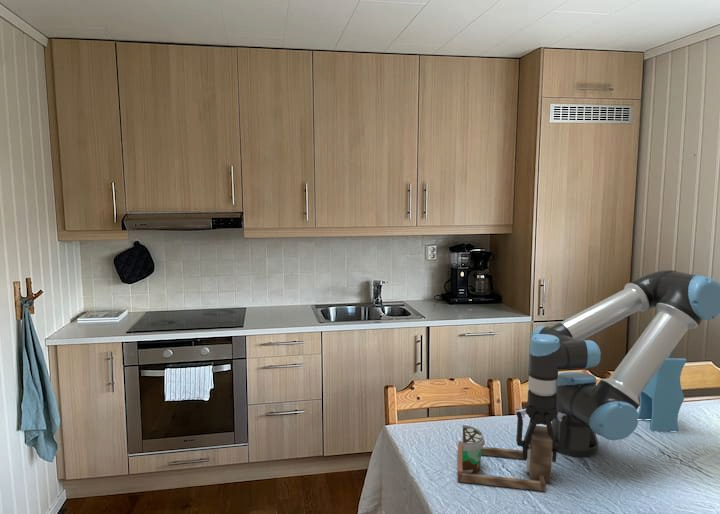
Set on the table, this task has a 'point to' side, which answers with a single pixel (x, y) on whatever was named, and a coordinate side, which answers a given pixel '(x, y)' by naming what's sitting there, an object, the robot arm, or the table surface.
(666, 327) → the robot arm
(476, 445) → the food container
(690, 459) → the table surface
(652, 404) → the blue wavy channel stand
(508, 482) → the walnut bed frame
